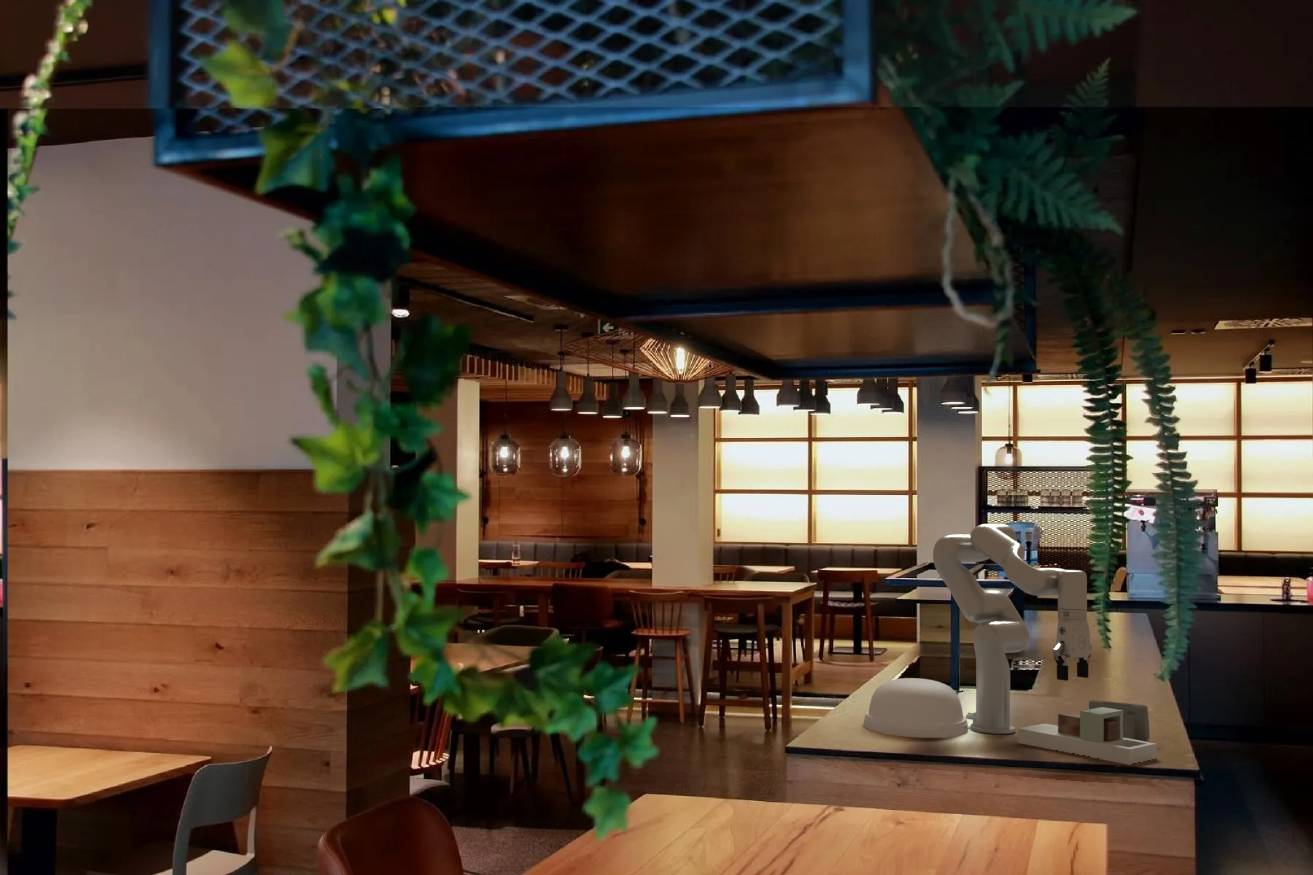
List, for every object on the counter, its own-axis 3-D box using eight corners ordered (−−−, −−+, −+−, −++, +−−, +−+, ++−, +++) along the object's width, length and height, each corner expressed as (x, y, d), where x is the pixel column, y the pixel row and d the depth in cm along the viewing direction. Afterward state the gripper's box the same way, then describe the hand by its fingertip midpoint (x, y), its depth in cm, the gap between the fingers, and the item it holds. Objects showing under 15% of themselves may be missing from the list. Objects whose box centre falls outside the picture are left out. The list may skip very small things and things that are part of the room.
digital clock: (1153, 741, 349) (1153, 703, 349) (1140, 745, 342) (1140, 707, 343) (1097, 733, 360) (1097, 696, 360) (1083, 737, 353) (1083, 699, 354)
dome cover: (843, 720, 373) (844, 673, 373) (929, 716, 383) (930, 670, 384) (899, 741, 343) (900, 690, 343) (991, 736, 353) (991, 686, 353)
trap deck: (1017, 742, 343) (1017, 728, 343) (1044, 737, 351) (1044, 723, 351) (1130, 764, 317) (1130, 749, 317) (1156, 758, 325) (1156, 743, 325)
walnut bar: (1058, 732, 338) (1058, 713, 338) (1068, 730, 341) (1068, 712, 341) (1108, 741, 326) (1108, 722, 326) (1118, 739, 329) (1118, 720, 330)
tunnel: (1079, 738, 329) (1080, 710, 330) (1102, 734, 336) (1102, 706, 337) (1100, 742, 325) (1100, 714, 325) (1122, 738, 332) (1123, 710, 332)
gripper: (1066, 617, 330) (1067, 682, 329) (1102, 615, 341) (1102, 677, 340) (1042, 615, 336) (1042, 679, 335) (1077, 612, 347) (1078, 674, 346)
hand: (1072, 678), depth 338 cm, fingers open, 9 cm apart
